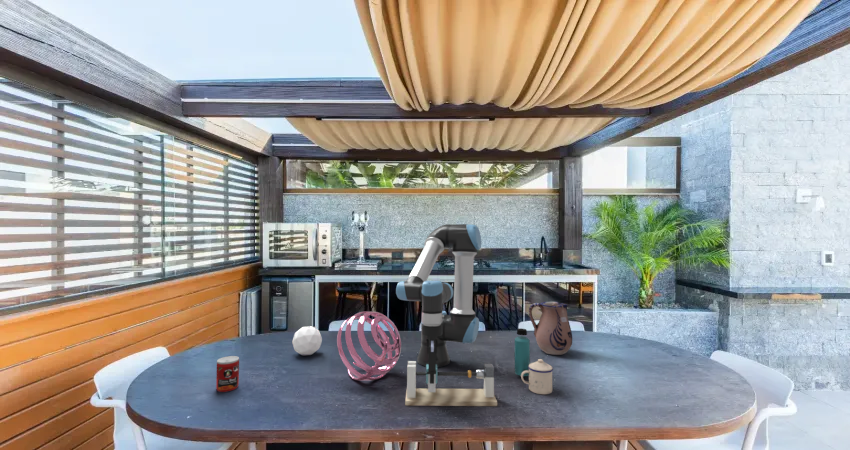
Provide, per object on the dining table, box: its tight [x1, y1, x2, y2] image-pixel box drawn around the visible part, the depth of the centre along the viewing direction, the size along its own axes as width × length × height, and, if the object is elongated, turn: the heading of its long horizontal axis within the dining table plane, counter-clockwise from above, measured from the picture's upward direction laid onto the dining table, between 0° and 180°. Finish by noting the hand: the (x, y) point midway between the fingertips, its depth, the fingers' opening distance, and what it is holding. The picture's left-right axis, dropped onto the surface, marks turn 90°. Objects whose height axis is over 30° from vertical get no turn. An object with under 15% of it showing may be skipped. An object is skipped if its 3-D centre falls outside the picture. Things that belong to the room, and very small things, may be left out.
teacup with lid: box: [520, 358, 554, 395], centre depth 146 cm, size 12×9×12 cm
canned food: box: [215, 355, 240, 393], centre depth 145 cm, size 8×8×11 cm
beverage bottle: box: [513, 328, 531, 377], centre depth 159 cm, size 6×7×20 cm
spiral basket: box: [336, 311, 402, 382], centre depth 159 cm, size 28×28×27 cm
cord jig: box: [404, 360, 498, 407], centre depth 137 cm, size 32×11×12 cm, turn 90°
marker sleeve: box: [425, 364, 439, 384], centre depth 137 cm, size 4×5×5 cm
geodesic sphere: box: [291, 325, 323, 356], centre depth 188 cm, size 15×14×14 cm
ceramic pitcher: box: [528, 301, 573, 356], centre depth 193 cm, size 18×21×25 cm
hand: (431, 388), depth 137 cm, fingers closed on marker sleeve, 5 cm apart
